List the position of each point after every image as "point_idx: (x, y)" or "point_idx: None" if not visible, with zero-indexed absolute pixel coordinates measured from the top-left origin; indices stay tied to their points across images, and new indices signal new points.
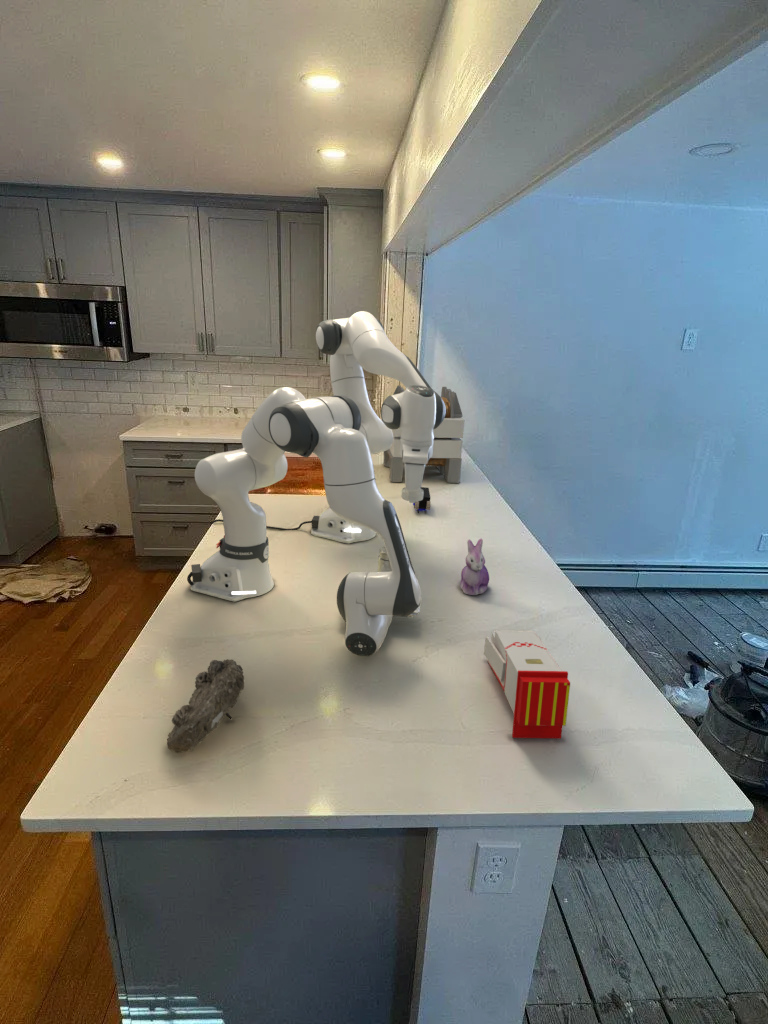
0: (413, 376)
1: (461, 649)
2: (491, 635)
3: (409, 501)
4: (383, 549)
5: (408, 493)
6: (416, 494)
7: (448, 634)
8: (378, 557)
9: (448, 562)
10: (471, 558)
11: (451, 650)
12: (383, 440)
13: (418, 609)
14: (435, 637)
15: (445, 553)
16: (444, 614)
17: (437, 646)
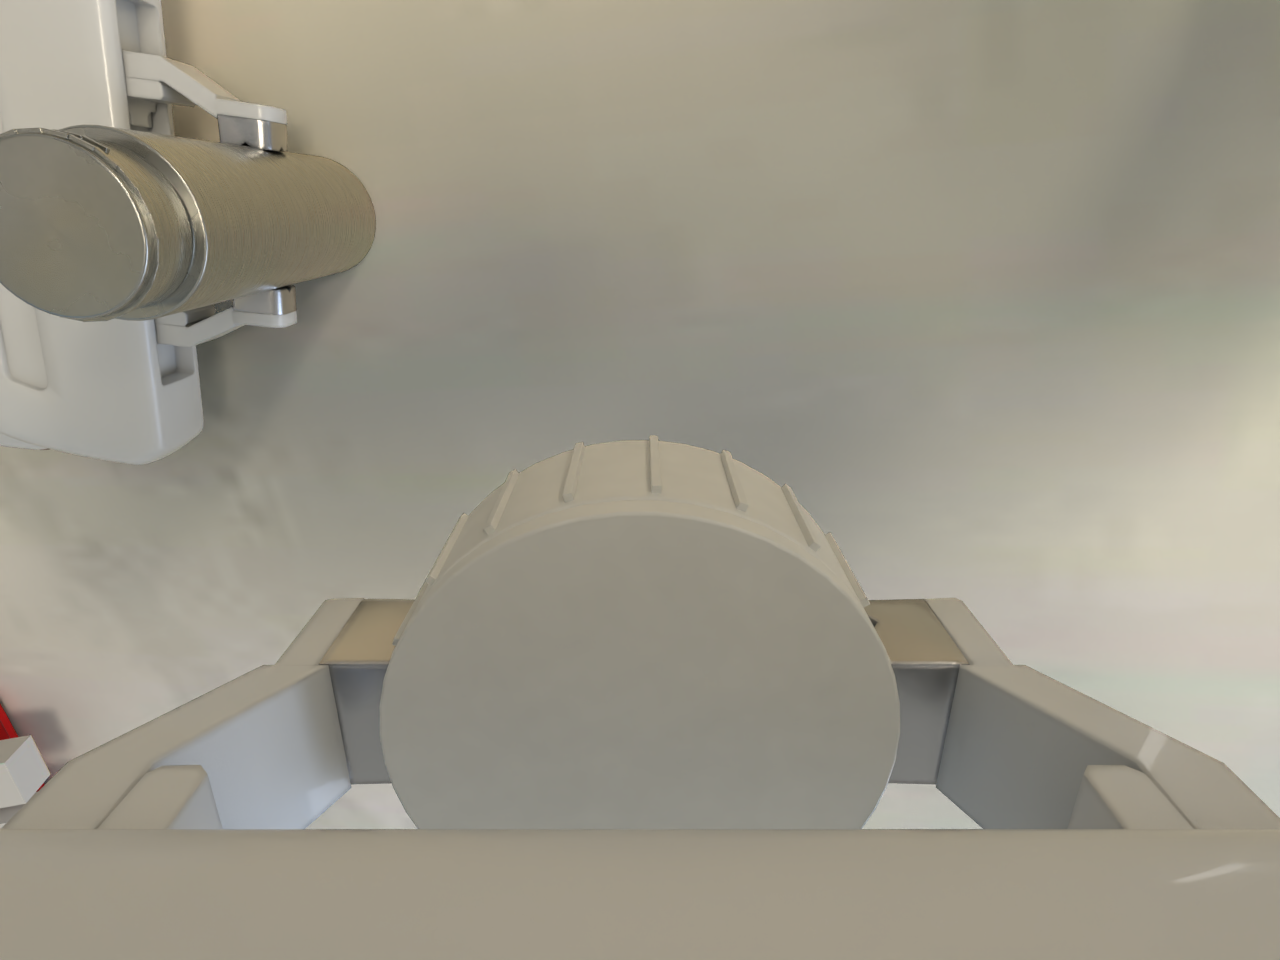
0: None
1: (40, 597)
2: (16, 751)
3: (327, 610)
4: (41, 173)
5: (392, 659)
6: (417, 802)
7: (141, 548)
8: (69, 126)
9: (936, 559)
10: None
11: (12, 558)
12: None
13: (22, 443)
14: (89, 492)
15: (1065, 544)
16: (321, 533)
17: (16, 501)
